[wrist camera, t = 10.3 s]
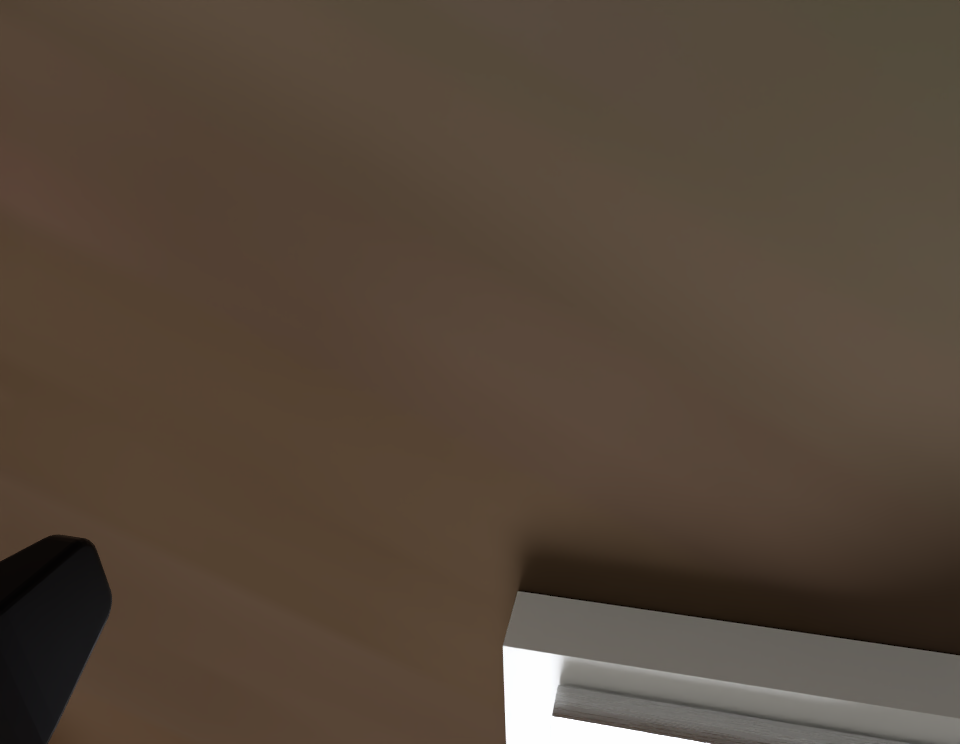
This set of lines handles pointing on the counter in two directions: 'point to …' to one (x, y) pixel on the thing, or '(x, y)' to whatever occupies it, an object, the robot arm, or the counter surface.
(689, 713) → the pan
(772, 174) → the counter surface
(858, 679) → the scale
